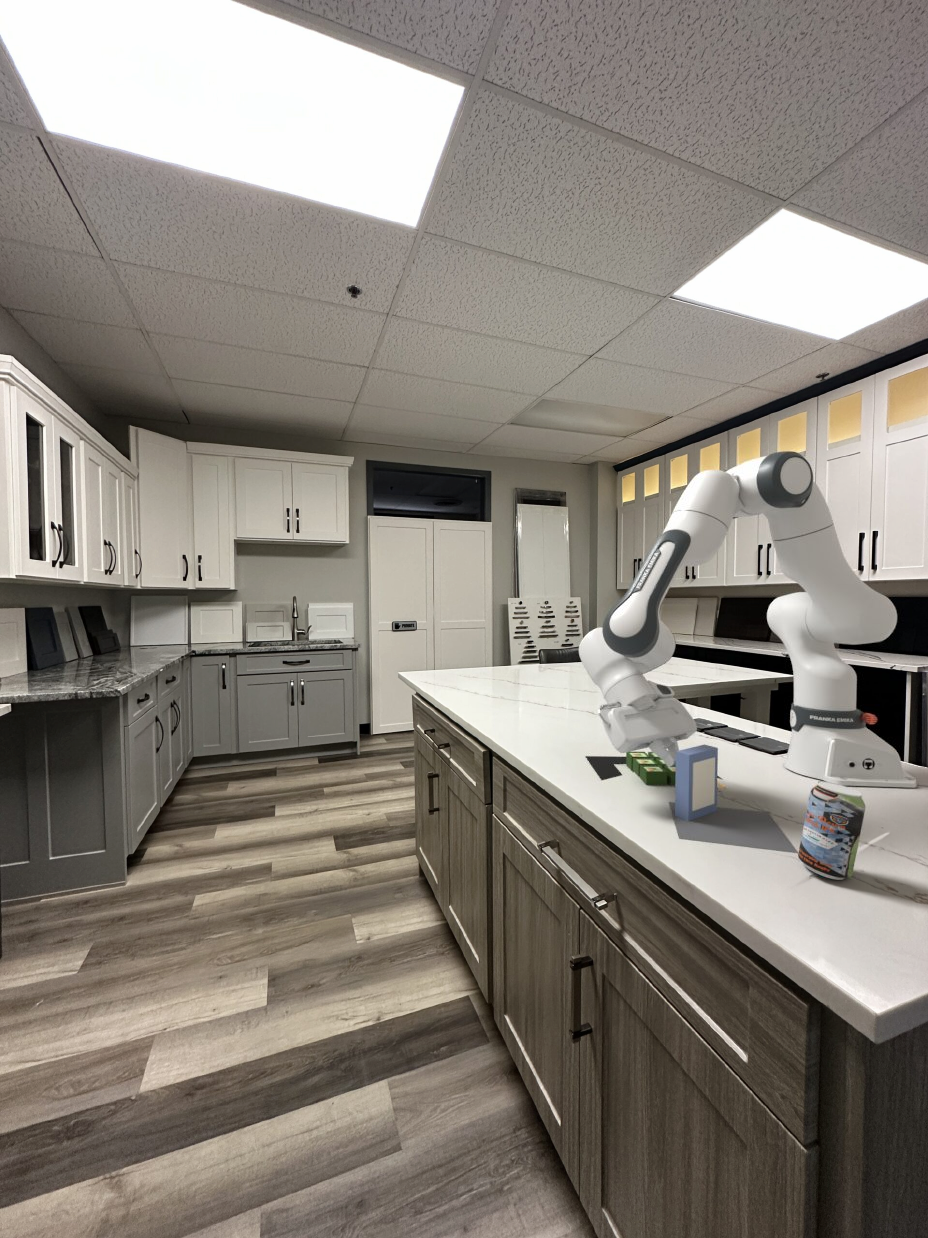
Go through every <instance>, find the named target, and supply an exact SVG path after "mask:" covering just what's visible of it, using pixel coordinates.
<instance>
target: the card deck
mask: <svg viewBox="0 0 928 1238" xmlns="http://www.w3.org/2000/svg"><path fill="white" fill-rule="evenodd" d="M718 751H719V748H718V747H715V746H713V745H708V744H702V745H696V746H693V747H688V748H684V749H679V751H676V781H675V785H674V786H675V788H674V789H675V793H674V794H675V795H674V796H675V797H674V803H675V816H677V817H680V818H682V819H684V820H687V821H690V820H693V819H695V818H698V817H701V816H704V815H706V814H709V813H712V812H715V811H717V807H718V789H717V787H718V784H717V781H718V778H717V775H718V762H719V758H718V757H719V756H718V755H719V753H718Z"/></svg>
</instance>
